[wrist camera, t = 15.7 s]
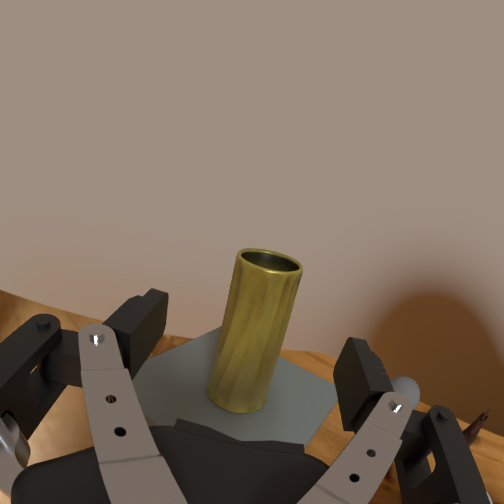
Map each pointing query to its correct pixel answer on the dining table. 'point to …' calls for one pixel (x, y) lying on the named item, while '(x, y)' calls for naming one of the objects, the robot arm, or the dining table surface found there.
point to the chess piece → (474, 428)
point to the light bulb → (407, 389)
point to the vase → (253, 329)
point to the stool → (209, 414)
